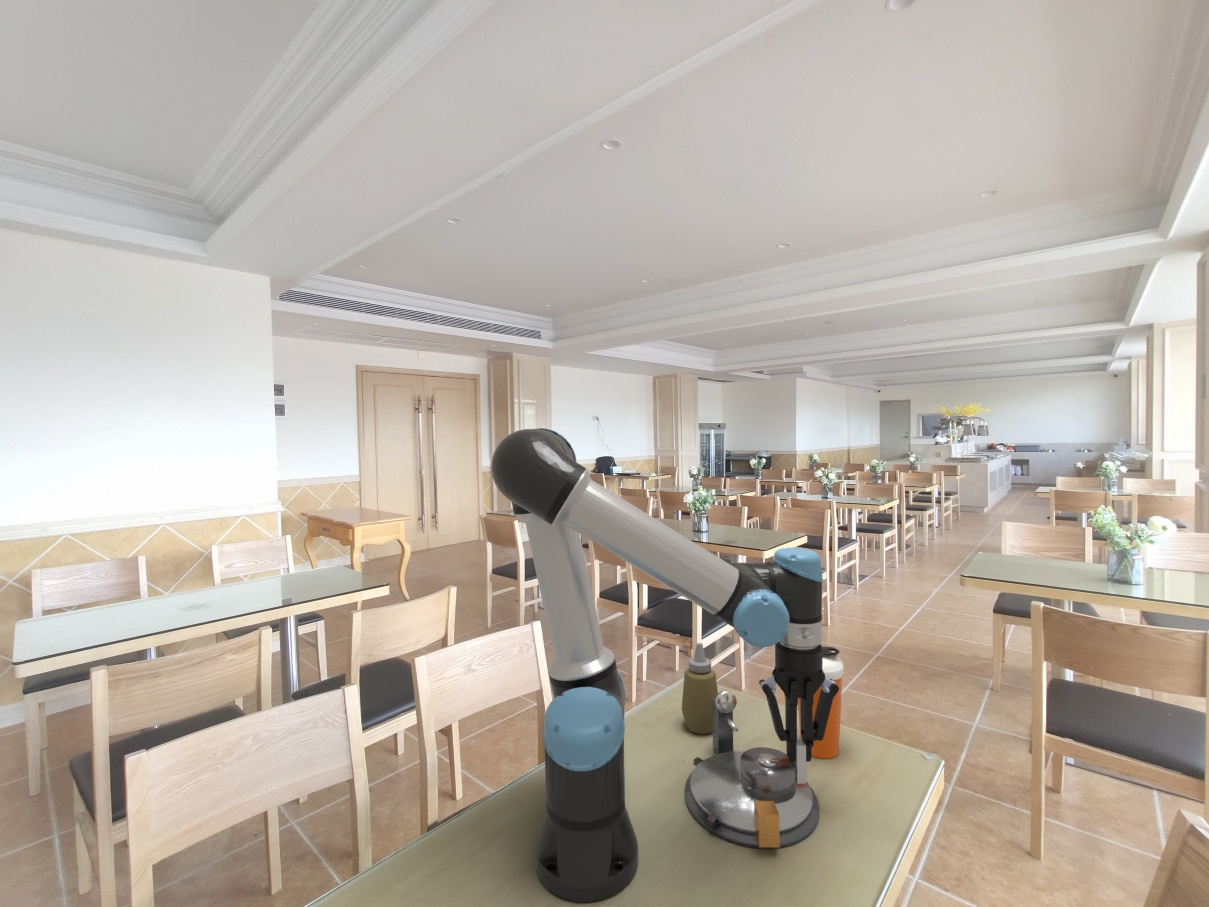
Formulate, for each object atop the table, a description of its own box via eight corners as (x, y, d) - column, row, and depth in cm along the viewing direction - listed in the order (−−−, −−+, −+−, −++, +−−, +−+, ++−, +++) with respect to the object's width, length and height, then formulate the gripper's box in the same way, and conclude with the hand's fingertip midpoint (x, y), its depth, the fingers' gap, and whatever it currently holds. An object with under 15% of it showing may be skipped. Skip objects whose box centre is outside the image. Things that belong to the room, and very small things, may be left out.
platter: (701, 847, 82) (701, 814, 82) (684, 758, 105) (683, 732, 104) (837, 847, 82) (837, 814, 81) (791, 757, 104) (790, 731, 104)
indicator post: (726, 773, 102) (725, 704, 101) (710, 749, 110) (709, 684, 109) (746, 770, 102) (745, 702, 102) (729, 746, 110) (728, 682, 110)
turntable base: (693, 849, 84) (693, 842, 84) (678, 761, 106) (678, 756, 106) (841, 849, 83) (841, 842, 83) (794, 760, 105) (794, 755, 105)
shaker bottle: (848, 764, 104) (848, 659, 103) (798, 759, 105) (797, 656, 104) (838, 737, 112) (838, 641, 111) (792, 734, 114) (791, 638, 113)
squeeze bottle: (692, 713, 123) (691, 634, 122) (726, 724, 118) (725, 641, 118) (674, 730, 117) (673, 646, 116) (710, 742, 112) (708, 654, 111)
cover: (746, 802, 90) (746, 775, 90) (736, 768, 99) (735, 743, 99) (802, 803, 90) (802, 775, 89) (787, 769, 98) (787, 744, 98)
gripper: (765, 651, 89) (766, 793, 90) (846, 650, 89) (847, 793, 90) (753, 633, 97) (755, 765, 98) (829, 633, 96) (829, 764, 97)
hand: (799, 778), depth 94 cm, fingers closed
